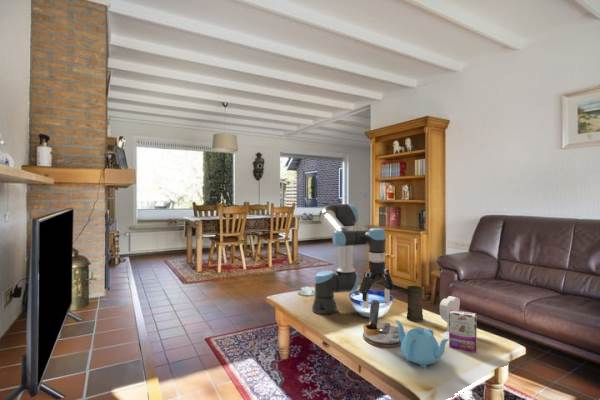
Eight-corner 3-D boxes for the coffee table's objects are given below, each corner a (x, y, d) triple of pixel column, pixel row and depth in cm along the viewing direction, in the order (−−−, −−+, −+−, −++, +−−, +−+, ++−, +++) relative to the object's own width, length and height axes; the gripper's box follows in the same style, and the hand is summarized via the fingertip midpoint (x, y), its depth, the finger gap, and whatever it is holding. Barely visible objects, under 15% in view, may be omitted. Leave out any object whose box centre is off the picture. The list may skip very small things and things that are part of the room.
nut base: (354, 335, 165) (354, 333, 165) (383, 326, 175) (383, 325, 175) (383, 351, 147) (383, 349, 147) (413, 341, 157) (413, 339, 157)
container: (424, 322, 180) (424, 290, 180) (407, 321, 182) (407, 289, 182) (422, 316, 189) (422, 285, 189) (405, 315, 191) (405, 284, 190)
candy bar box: (476, 348, 150) (476, 313, 150) (476, 353, 146) (476, 316, 145) (450, 343, 156) (450, 308, 155) (448, 347, 151) (448, 312, 151)
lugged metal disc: (396, 327, 171) (396, 318, 171) (409, 344, 152) (409, 334, 152) (360, 328, 170) (360, 319, 170) (369, 345, 151) (369, 335, 151)
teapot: (395, 349, 149) (395, 319, 149) (441, 353, 146) (441, 322, 145) (399, 368, 133) (399, 334, 133) (450, 373, 130) (450, 338, 129)
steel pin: (367, 332, 160) (370, 304, 155) (368, 327, 163) (371, 299, 158) (376, 334, 159) (379, 305, 154) (376, 328, 162) (379, 301, 158)
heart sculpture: (451, 327, 173) (451, 293, 173) (461, 330, 170) (461, 296, 169) (437, 336, 163) (437, 300, 163) (448, 339, 159) (448, 302, 159)
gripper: (362, 265, 147) (361, 312, 147) (401, 259, 159) (401, 302, 160) (351, 262, 153) (351, 307, 154) (390, 256, 166) (389, 298, 166)
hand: (376, 304), depth 157 cm, fingers open, 13 cm apart
